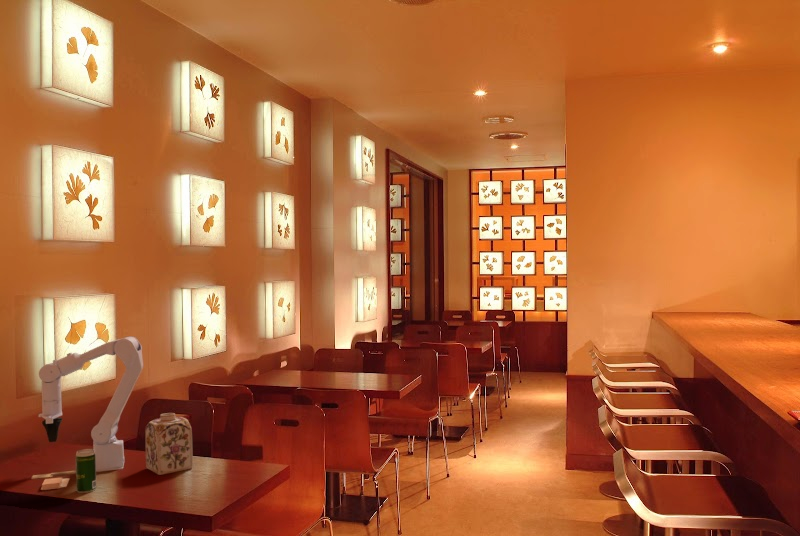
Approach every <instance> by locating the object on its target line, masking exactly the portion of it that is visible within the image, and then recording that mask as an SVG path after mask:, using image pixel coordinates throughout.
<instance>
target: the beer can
mask: <svg viewBox="0 0 800 536" xmlns="http://www.w3.org/2000/svg"><path fill="white" fill-rule="evenodd" d="M94 451H95V450H94V449H93V448H84V449H80V450H77V451H76V452H75V453H76V454H75V476H76V477H75V478H76V483H75V484H76V491H77V493H78V494H87V493H92V492H94V491H96V489H97V472H96V455H95V452H94Z"/></svg>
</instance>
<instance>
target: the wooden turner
mask: <svg viewBox="0 0 800 536" xmlns="http://www.w3.org/2000/svg"><path fill="white" fill-rule="evenodd" d="M67 475H68V476H69V475H76V470H70V471H69V470H68V471H67V470H66V471H60V472H58V471H57V472H51V473H44V474H43V473H42V474H36V475H35V474H33V475H32V476H31V479H30V480H38V479H50V478H54V477H58V476H59V477H60V476H67Z"/></svg>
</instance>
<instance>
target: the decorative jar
mask: <svg viewBox="0 0 800 536" xmlns="http://www.w3.org/2000/svg"><path fill="white" fill-rule="evenodd" d="M159 416H160V417H159V418H155V419H153V420H151V421H149V422H148V423H147V425H146V426H145V429H144V430H145V432H144V433H145V465H146V469H147V470H149V471H151V472H153V473H154V474H157V475H159V476H162V475H168V474H173V473H177V472H181V471H182V472H183V471H189V470H191V469H193V466H194V465H193V461H194V459H193V457H194V456H193V452H194V451H193V430H192V426H191V423H190V422H189V419H187V418H186V417H182V416H181V417H180V416H176V413H174V412H167V413H161V414H160V415H159Z"/></svg>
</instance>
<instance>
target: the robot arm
mask: <svg viewBox="0 0 800 536" xmlns="http://www.w3.org/2000/svg"><path fill="white" fill-rule="evenodd" d="M142 351H143V346H142V344H141V343H140V341H139V340H138V338H137V337H135V336H130V335H129V336H126V337H123V338H119V339H118V338H117V339H115V340H110V341H108V342H105V343H103V344H101V345H99V346H97V347H95V348H92V349H90V350H88V351H86V352H82V354H81V353H78V352H69V353H66V356H63V357H61V358H59V359H54V360H52V362H50V363H45V364H44V365H43V366H42V367H41V368H40V369H39V370H38V376H39V379H40V380H41V405H42V407H41V408H42V409H41V411H42V413H39V414H38V416H37V417H38V418H42V419H44V420H42V422H41V423H42V426H43V427H44V429H45V431H46V435H47V438H48V443H54V442H57V440H58V438H59V436H58V435H59V429H60V426H61V423H62V421H63V418H62V417H63V411H62V410H63V407H62V403H63V402H62V384H61V382H62V381H61V378H62V377H66V376H68V375H70V374H72V373H75V372H77V371H80V370H81V369H83V368H84V365H85V364H86V363H88V362H90V361H93V360H95V359H98V358H101V357H103V356H106V355H108V356H115V355H116V356H117V357H118V359H120V360H121V361H122V362H123V365H124V367H125V371H124V372H123V374H122V376H121V378H120V381H119V383H118V385H117V387H116V389H115V392H114V393H113V395H112V398H111V400H110V402H109V404H108V406H107V408H106V410H105V412H104V413H103V415H102V416H101V418H100V419H99V422H98V423H97V424H96V425H94V426H93V427H92V429H91V433H90V437H91V439H92V440H93V444H92V445H93V448H92V449H94V450H95V451H94V452H95V455H96V473H99V472H108V471H117V470H123V469H124V466H125V462H126V461H125V458H126V457H125V453H124V452H125V451H124V450H125V449H124V440H123V439H120V440H119V439H118V438H117V437H116V434H117V432H118V431H119V429H118V428H119V425H118V424H119V421H120V419H121V415H122V413H123V410H124V408H125V407H126V404H127V402H128V400H129V399H130V396H131V394H132V392H133V390H134V387H135V386H136V384H137V381H138V380H139V377H140V376H141V373H142V371H143V370H144V369H143V368H144V359H143V352H142ZM61 416H62V417H61Z"/></svg>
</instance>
